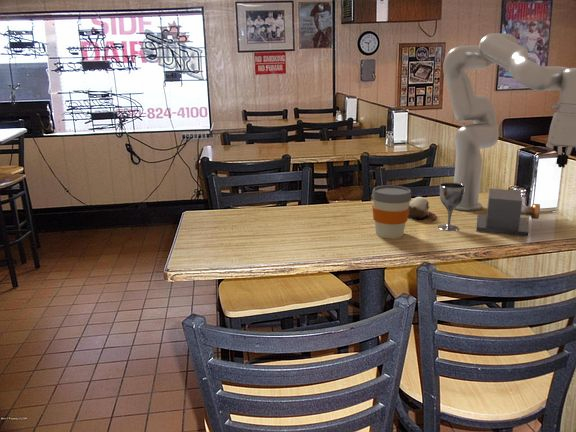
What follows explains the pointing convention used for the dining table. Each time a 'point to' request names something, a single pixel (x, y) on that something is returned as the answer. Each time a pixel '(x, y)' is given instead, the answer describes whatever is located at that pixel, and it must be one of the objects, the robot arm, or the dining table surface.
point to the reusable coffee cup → (390, 210)
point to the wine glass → (451, 201)
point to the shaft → (531, 211)
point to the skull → (420, 210)
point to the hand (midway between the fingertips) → (561, 166)
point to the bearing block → (503, 214)
